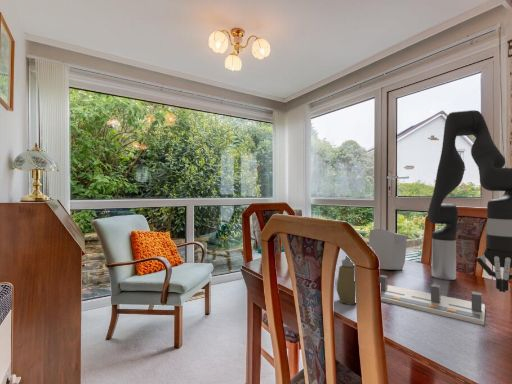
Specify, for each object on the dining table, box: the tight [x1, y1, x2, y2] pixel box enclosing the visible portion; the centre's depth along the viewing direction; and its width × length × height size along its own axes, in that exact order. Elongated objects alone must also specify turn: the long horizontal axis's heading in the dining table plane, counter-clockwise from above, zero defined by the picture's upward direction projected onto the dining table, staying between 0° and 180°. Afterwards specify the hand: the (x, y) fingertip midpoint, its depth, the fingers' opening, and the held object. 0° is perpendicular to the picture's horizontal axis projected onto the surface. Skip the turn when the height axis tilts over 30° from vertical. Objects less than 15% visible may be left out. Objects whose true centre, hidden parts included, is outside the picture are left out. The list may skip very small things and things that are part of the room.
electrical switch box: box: [368, 228, 408, 271], centre depth 147 cm, size 15×15×20 cm
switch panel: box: [381, 284, 486, 326], centre depth 99 cm, size 16×32×2 cm, turn 51°
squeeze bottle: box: [336, 255, 355, 305], centre depth 100 cm, size 8×8×18 cm
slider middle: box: [430, 283, 442, 303], centre depth 97 cm, size 3×2×5 cm
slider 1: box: [379, 274, 389, 291], centre depth 108 cm, size 3×2×5 cm
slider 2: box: [471, 290, 483, 312], centre depth 90 cm, size 3×2×5 cm
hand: (501, 291), depth 86 cm, fingers closed
